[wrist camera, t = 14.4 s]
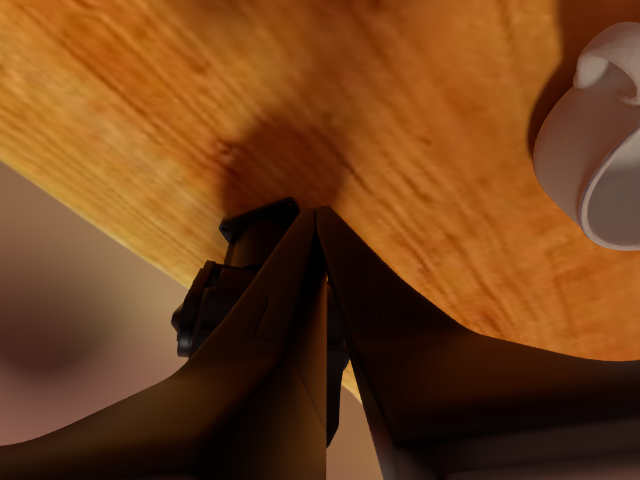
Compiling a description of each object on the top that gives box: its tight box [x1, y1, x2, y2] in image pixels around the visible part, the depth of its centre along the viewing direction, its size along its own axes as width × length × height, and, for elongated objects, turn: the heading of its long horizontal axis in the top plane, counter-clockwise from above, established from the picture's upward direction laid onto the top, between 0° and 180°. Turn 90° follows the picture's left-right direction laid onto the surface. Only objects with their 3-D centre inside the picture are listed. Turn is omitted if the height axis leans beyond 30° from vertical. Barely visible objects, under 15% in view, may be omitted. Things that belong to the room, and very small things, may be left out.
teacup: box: [533, 22, 640, 250], centre depth 18 cm, size 14×11×8 cm
